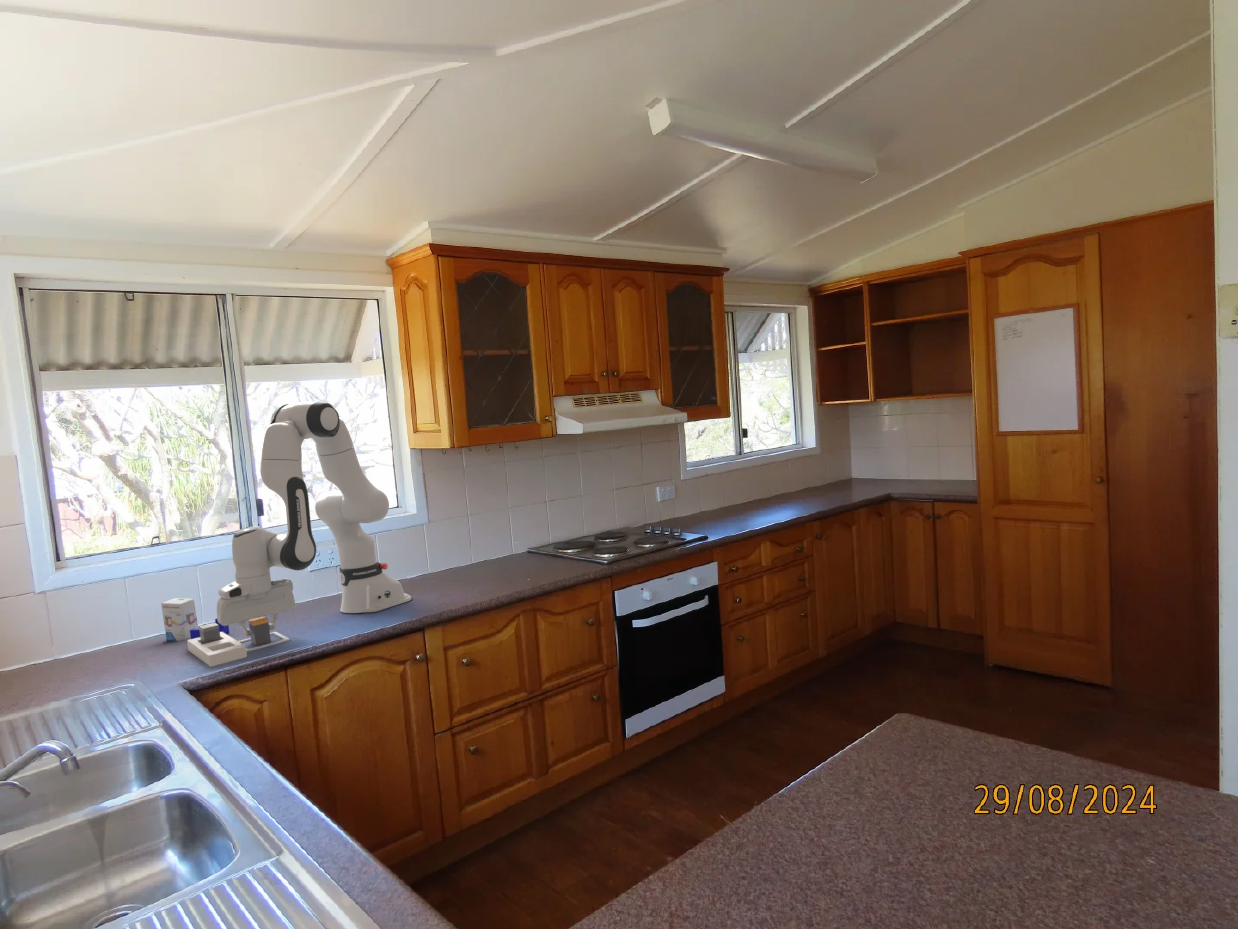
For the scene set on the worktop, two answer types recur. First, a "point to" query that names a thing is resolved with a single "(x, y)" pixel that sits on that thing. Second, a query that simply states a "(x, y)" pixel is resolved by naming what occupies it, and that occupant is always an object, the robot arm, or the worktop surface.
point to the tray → (269, 643)
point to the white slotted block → (217, 650)
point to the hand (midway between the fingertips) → (260, 632)
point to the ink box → (179, 618)
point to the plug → (259, 630)
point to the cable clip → (196, 633)
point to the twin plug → (209, 633)
